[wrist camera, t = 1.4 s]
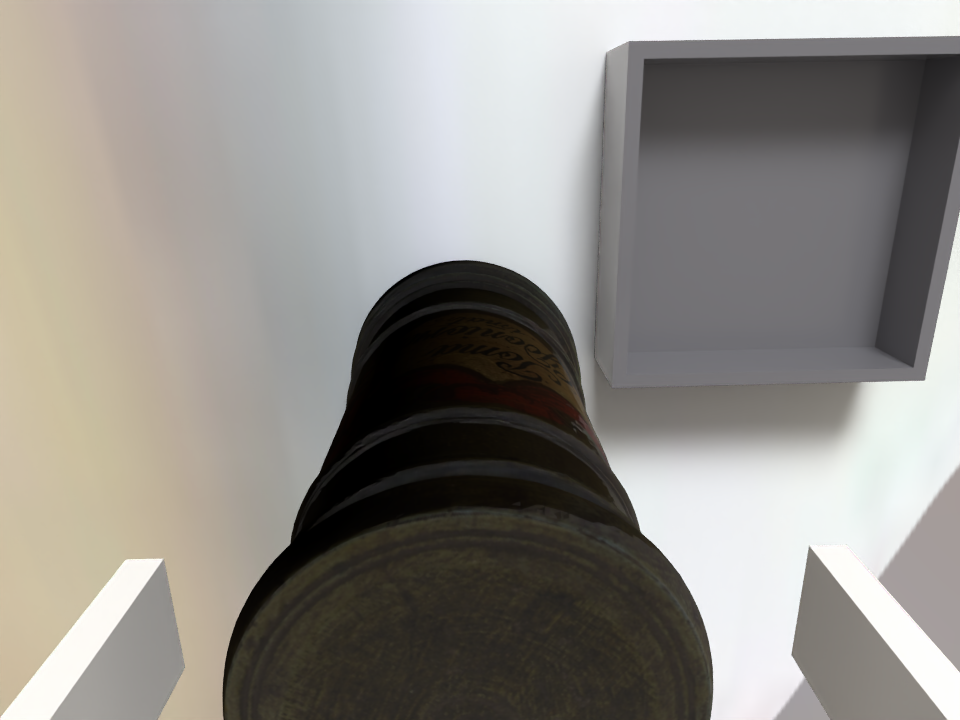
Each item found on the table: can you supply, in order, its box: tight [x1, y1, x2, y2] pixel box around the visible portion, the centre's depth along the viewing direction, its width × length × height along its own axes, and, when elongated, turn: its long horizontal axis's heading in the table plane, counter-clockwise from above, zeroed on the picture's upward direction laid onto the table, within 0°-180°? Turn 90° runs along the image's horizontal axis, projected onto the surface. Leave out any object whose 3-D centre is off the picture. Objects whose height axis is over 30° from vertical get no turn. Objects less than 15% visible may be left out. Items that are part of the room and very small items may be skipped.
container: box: [223, 260, 713, 720], centre depth 20 cm, size 9×9×18 cm
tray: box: [594, 36, 960, 388], centre depth 25 cm, size 12×12×4 cm
